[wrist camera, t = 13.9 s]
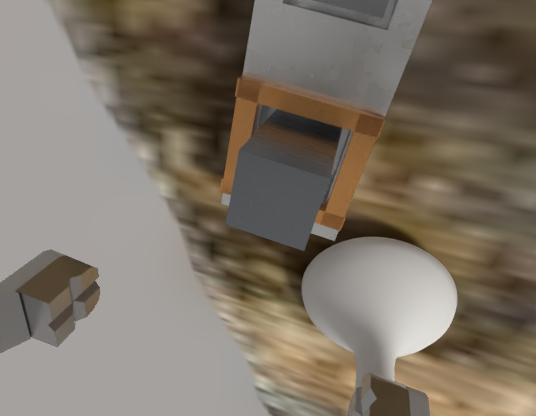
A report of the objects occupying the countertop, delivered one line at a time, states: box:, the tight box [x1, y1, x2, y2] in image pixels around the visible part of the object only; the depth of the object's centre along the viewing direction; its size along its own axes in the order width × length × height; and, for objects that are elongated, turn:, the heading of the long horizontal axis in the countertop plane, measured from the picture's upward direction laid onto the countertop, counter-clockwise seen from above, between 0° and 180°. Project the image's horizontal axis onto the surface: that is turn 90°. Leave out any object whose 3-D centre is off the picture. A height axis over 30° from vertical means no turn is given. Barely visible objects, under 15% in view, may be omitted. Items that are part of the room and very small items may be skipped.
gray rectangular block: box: [226, 109, 342, 251], centre depth 19 cm, size 4×4×8 cm
